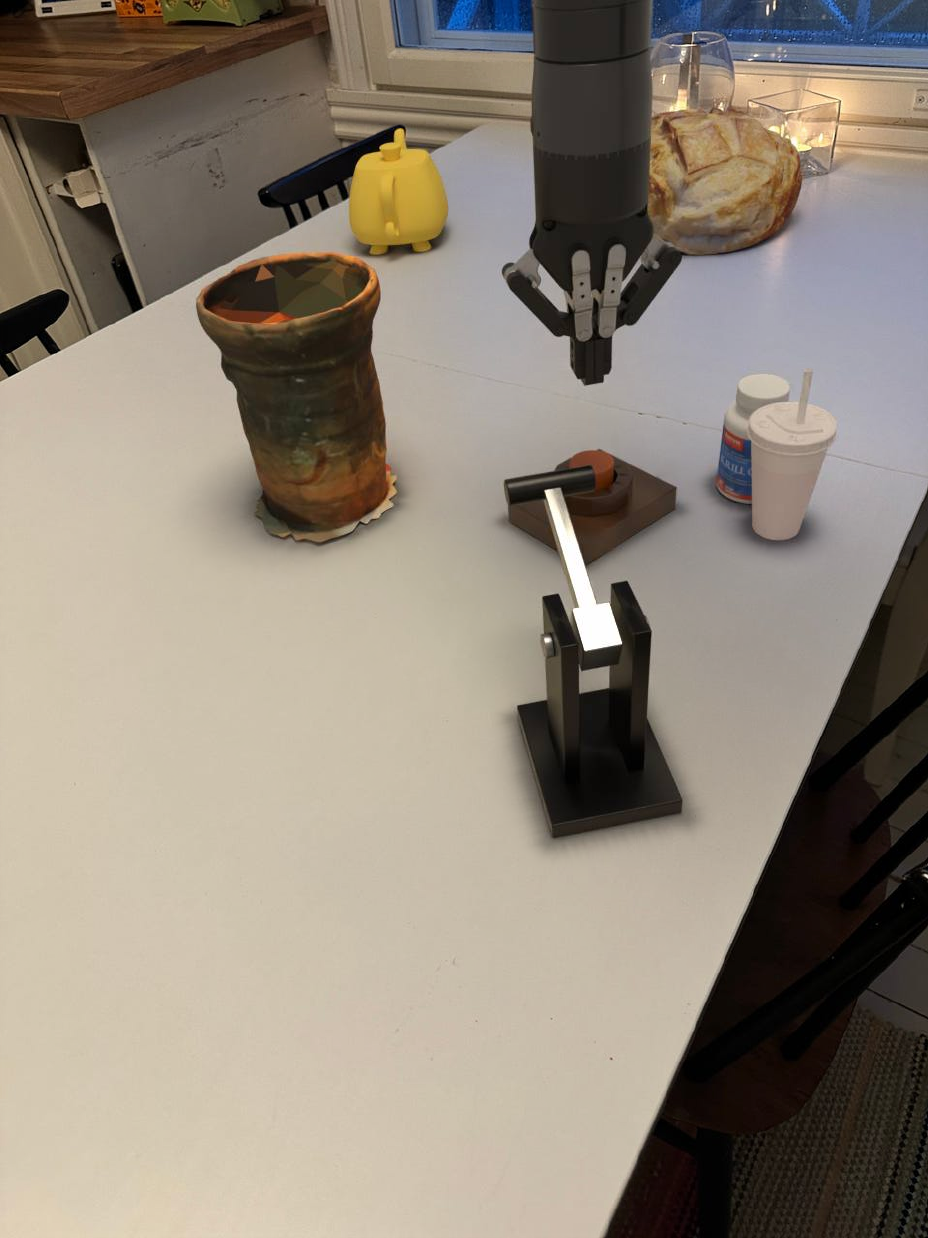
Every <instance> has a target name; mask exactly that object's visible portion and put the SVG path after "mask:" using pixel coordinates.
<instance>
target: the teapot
mask: <svg viewBox="0 0 928 1238" xmlns="http://www.w3.org/2000/svg"><path fill="white" fill-rule="evenodd" d="M379 150H380V151H374V152H371V153H366V154H363V155H362V156H361V157H360V158H359V160H358V161H357V163H356V164H355V168H354V171H353V176H352V180H351V184H350V191H349V200H348V220H349V227H350V228H349V229H350V231H351V232H352V233H353V235H354V236H355V238H356V239H357V240H358V241H359V242H360V243H361V244H364V245H370V249H369V254H370V255H374V256H375V255H382V254H385V253H388V250H389V246H397V245H407V244H411V246H412V250H413V251H414V252H417V253H418V252H420V253H421V252H427V251H429V250H432V245H431V243H430V240H432V239H435V238H437V237H438V236H439V235H440V234H441V233H442V231H443V229H444V227H445V224H446V221H447V219H448V216H449V202H448V197H447V192H446V188H445V184H444V182H443V179H442V176H441V174H440V172H439V170H438V168H437V166H436V164H435V162H434V160H433V158H432V156H431V155H430V153H429V152H428V151H427V150H426V149H422V148H407V143H406V134H405V130H404V128H397V129H396V130H394V134H393V142H386V143H383V144H381V145H380V146H379Z"/></svg>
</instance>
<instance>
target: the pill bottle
mask: <svg viewBox="0 0 928 1238" xmlns="http://www.w3.org/2000/svg"><path fill="white" fill-rule="evenodd" d="M790 391H791V386H790V383H789V382H788V381H787V380H786V379H784V378H783V377H781V376H778V375H774V374H767V373H756V374H750V375H747V376H744V377H742V378H741V379H740V380H739V381H738V383H737V387H736V394H735V401H734V402H732V403H731V404H730V405H729V406H728V407H727V409H726V411H725V413H724V418H723V425H722V433H721V442H720V450H719V456H718V466H717V474H716V487H717V489H718V491H719V493H721V494H722V495H723V496H724V497H726V498H727V499H729V500H731V501H734V502H737V503H741V504H747V505H749V504H751V505H752V461H751V440H750V439H749V437H748V434H747V428H748V425H749V419H750V416H751V415H752V414H753V412H755V411H756V410H757V409H759V408H761V407H763V406H765V405H769V404H772V403H778V402H789V400H790Z"/></svg>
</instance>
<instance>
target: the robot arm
mask: <svg viewBox="0 0 928 1238" xmlns="http://www.w3.org/2000/svg"><path fill="white" fill-rule="evenodd" d="M652 12H653V0H531V13H532V17H531V19H532V43H533V44H532V46H533V70H532V82H531V95H530V96H531V97H530V98H531V100H530V101H531V116H530V121H529V123H530V127H529V128H530V134H531V137H532V158H533V183H534V184H533V185H534V208H535V209H534V211H535V213H534V214H535V220H534V221H535V222H534V226H533V229H532V231H531V233H530V236H529V240H528V241H529V242H528V247H529V249H528V250H527V251H526V252H525V253H524V254H523V255H522V256H521V257H520V258H519V259H518V260H517V261H516V262H506V263H505V264H504V265H503V267H502V268H501V275H502V277H503V279H504V281H505V283H506V284H507V285H506V286H508V288H509V290H510V291H511V292H512V293H513V294H514V296H516V297H517V299H518V300H519V301H521V303H522V304H523V305H524V306H525V307H526V308H527V309H528V310H529V311H530V312H531V313H532V314H533V315H534V316H535V317H536V318H537V319H538V320H539V321H540V323H542V325H543V326H544V327H545V328H546V329H547V330H548V331H549V332H550V333H551V334H552V335H553V336H554V337H557V338H561V337H564V336H565V337H569V366H570V368H571V371H572V372H573V374H574V376H575V378H576V379H577V380H580V381H581V383H582V385H583V386H585V387H586V386H592V385H598V384H603V383H604V382H605V376H606V375H610V373H611V371H612V369H613V365H612V364H613V361H612V360H613V335H614V334H615V332H616V331H617V330H619V329H620V328H622V327H624V326H627V327H632V326H634V325H636V324H637V323H638V322H639V321H640V319H641V318H642V316H643V315H644V313H645V312H646V311H647V309H648V308H649V307H650V306H651V304H652V302H653V301H654V300H655V298H656V297H657V296H658V295H659V293H660V292H661V290H662V289H663V287H664V286H665V285H666V283H667V282H668V281H669V280H670V278H671V277H672V275H673V274H674V272H675V271H676V270H677V268H678V267H679V266H680V264H681V262H682V260H683V254H682V252H680V251H679V250H678V249H677V248H676V247H675V246H674V245H673V244H672V243H670V242H669V241H668V240H667V239H661V238H659V237H658V236H656V235H655V234H654V226H653V223H652V221H651V219H650V217H649V215H648V198H649V173H650V148H651V123H652V117H653V99H654V97H653V96H654V95H653V94H654V93H653V91H654V89H653V87H654V85H653V73H652V72H653V71H652V62H651V41H652V40H651V38H652ZM639 260H640V263H641V264H640V265H639V267H638V268H637V269H636V270H635V272H634V274H633V275H632V277H631V278H629V281H628V282H627V284H626V285H625V286H624V288H623V289H622V287H623V282H624V281H625V280H626V279H627V278H628V277H629V275H630V274H631V272H632V271H633V269H634V267H635V266H636V264H637V263H638V261H639ZM540 265H541V267H542V268H543V269H544V270H545V271H546V273H548V276H550V278H551V279H553V281H554V282H555V283H556V284H557V286H558V287H559V288H560V289H561V290H563V296H564V299H565V305H566V306H565V307H566V311H561V310H559V309H558V308H557V306H555V304H553V303H552V301H551V300H550V299H549V298H548V297H547V296H546V295H545V294H544V293H543V291H541V290H540V288H539V287H540V286H541V283H542V278H541V275H540V274H539V272H538V271H539V267H540Z"/></svg>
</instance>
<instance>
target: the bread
mask: <svg viewBox="0 0 928 1238" xmlns="http://www.w3.org/2000/svg"><path fill="white" fill-rule="evenodd" d="M802 172H803V171H802V167H801V157H800V154H799V151H798V149H797V148H796V146H795V145H794V144H793V143H792V140H791V139H790V138H788V137H784V136H782V135H781V134H780V133H778V132H777V131H774V130H770V129H767V128H766V127H764V125H763V124H762V122H760V121H759V120H757V119H756V118H754V117H753V116H752V115H750V114H749V113H747V111H746V110H745V109H742V108H741V107H734V105H728V106H727V108H726V109H725V110H722V109H720V108H719V107H718V108H717V107H712V108H711V109H710V111H708V113H706V111H705V110H704V109H702V108H688V109H678V110H676V111H675V110H674V111H664V112H659V113H657V114H652V123H651V148H650V173H649V198H648V215H649V217H650V219H651V221H652V223H653V226H654V234H655V235H656V236H658V237H659V238H661V239H667V240H668V241H669V242H670V243H672V244H673V245H674V246H675V247H676V248H677V249H678V251H679V252H680V253H683V255H693V256H694V255H695V256H704V255H705V256H706V255H715V254H719V253H721V254H722V253H729V252H735V251H739V250H742V249H746V248H749V247H751V246H754V245H756V244H758V243H760V242H762V241H764V240H765V239H768V238H769V237H770V236H772V235H773V234H775V233H776V232H778V231H779V230H780V229H781V228H782V226H784V224H785V223H786V221H787V220H788V218H789V217H790V215H791V214H792V212H793V211H794V209H795V207H796V204H797V202H798V200H799V197H800V194H801V189H802V186H803V173H802Z"/></svg>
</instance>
